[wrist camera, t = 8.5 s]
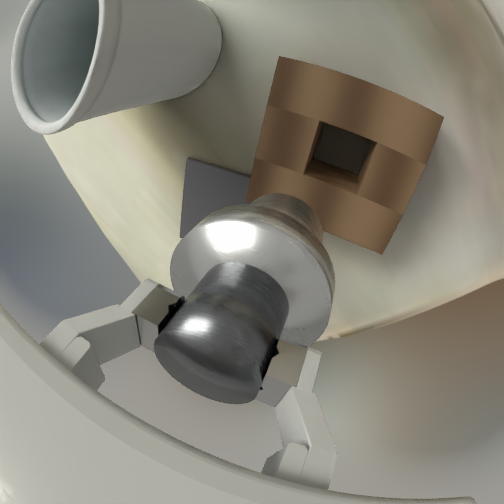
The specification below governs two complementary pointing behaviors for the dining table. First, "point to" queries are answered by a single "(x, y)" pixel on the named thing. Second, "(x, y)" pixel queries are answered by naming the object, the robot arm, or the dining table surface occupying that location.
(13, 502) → the robot arm
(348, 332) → the dining table surface
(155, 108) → the dining table surface
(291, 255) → the end cover
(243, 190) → the mat
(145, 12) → the utensil holder
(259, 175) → the socket block
